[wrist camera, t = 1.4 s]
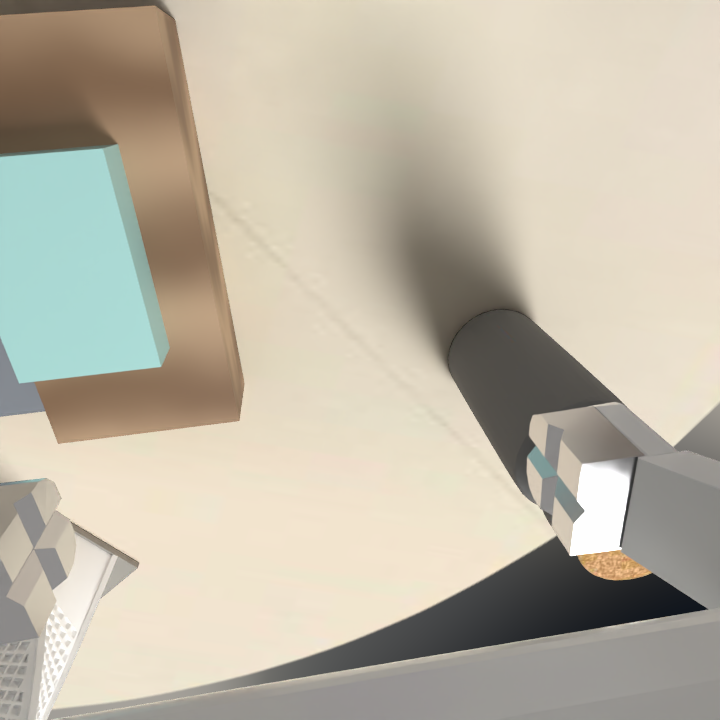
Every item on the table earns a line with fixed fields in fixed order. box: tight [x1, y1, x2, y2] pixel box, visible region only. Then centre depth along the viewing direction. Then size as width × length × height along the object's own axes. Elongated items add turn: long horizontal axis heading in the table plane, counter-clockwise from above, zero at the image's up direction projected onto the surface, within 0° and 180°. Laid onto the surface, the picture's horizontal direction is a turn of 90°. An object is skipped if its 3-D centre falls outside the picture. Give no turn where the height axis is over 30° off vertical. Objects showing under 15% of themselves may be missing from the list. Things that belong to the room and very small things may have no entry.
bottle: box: [448, 310, 652, 580], centre depth 26 cm, size 6×6×15 cm
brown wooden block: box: [0, 6, 244, 444], centre depth 25 cm, size 18×9×4 cm, turn 4°
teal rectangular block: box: [0, 144, 170, 383], centre depth 22 cm, size 9×6×2 cm, turn 4°
